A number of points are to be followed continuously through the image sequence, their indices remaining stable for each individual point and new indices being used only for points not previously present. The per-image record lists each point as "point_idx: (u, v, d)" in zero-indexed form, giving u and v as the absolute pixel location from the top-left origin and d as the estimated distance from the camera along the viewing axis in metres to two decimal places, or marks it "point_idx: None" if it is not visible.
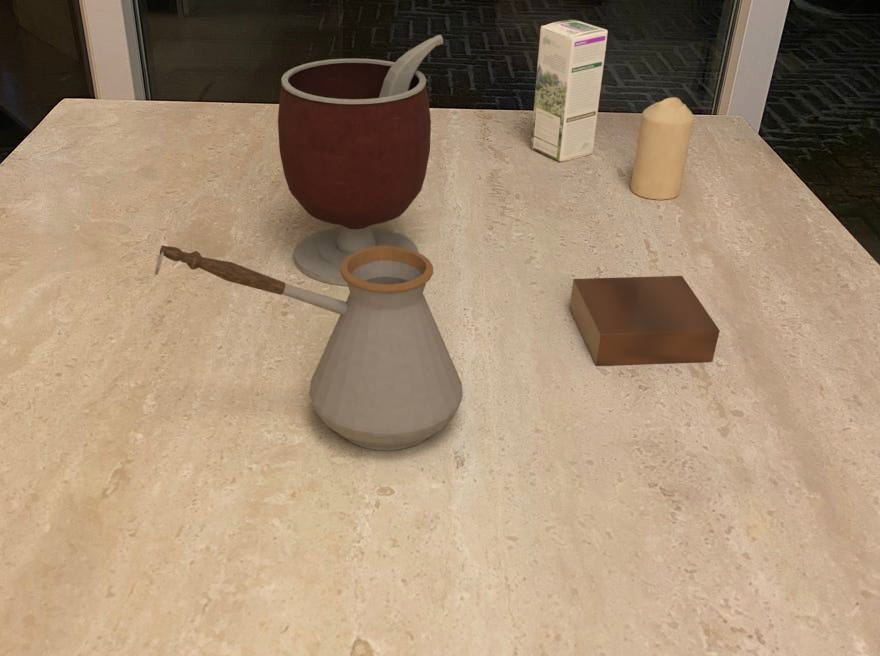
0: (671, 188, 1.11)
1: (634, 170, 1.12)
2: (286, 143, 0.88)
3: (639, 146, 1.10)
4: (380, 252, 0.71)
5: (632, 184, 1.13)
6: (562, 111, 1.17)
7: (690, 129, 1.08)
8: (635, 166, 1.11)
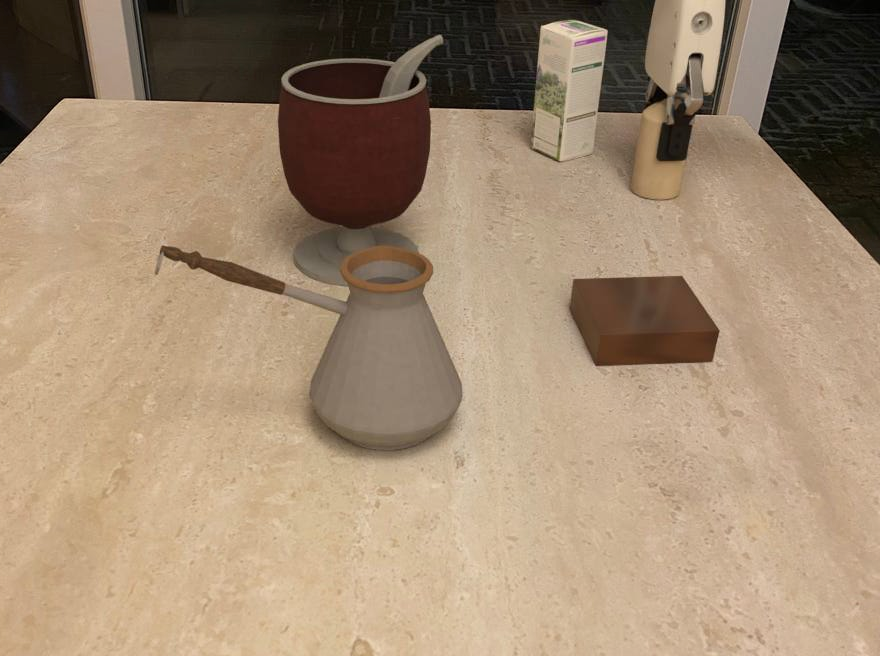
0: (671, 188, 1.11)
1: (634, 170, 1.12)
2: (286, 143, 0.88)
3: (639, 146, 1.10)
4: (380, 252, 0.71)
5: (632, 184, 1.13)
6: (562, 111, 1.17)
7: None
8: (635, 166, 1.11)
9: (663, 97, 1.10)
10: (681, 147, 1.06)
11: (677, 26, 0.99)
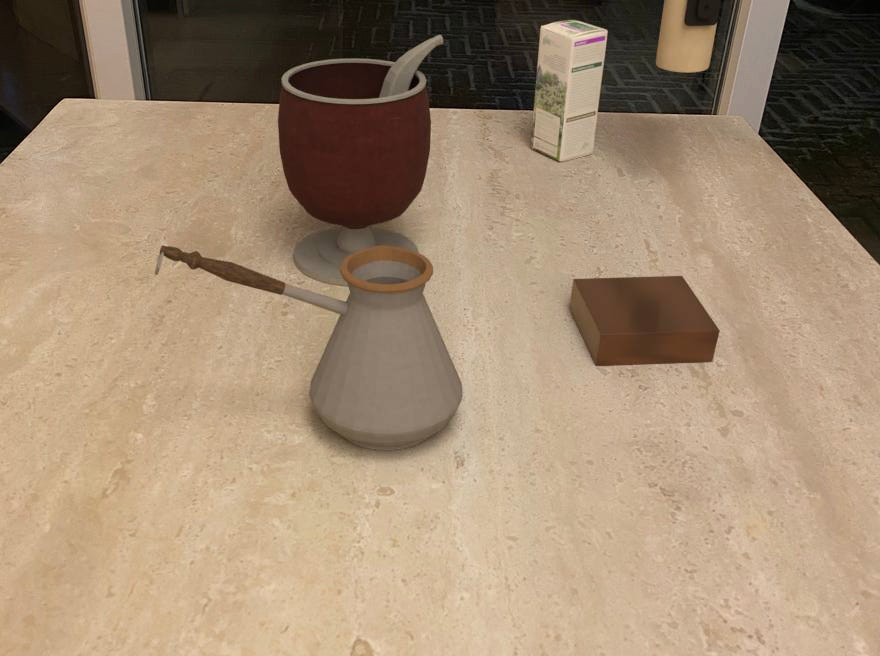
0: (700, 58, 1.02)
1: (659, 41, 1.03)
2: (286, 143, 0.88)
3: (665, 13, 1.01)
4: (380, 252, 0.71)
5: (657, 58, 1.04)
6: (562, 111, 1.17)
7: None
8: (660, 37, 1.03)
9: None
10: (711, 8, 0.98)
11: None
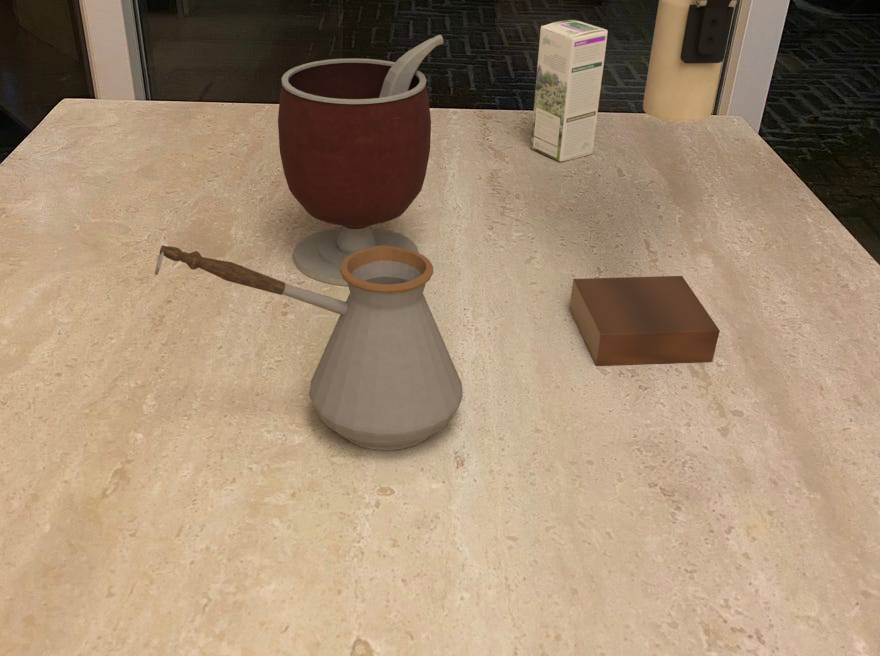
0: (700, 104, 0.78)
1: (647, 80, 0.79)
2: (286, 143, 0.88)
3: (655, 44, 0.77)
4: (380, 252, 0.71)
5: (645, 102, 0.80)
6: (562, 112, 1.17)
7: None
8: (649, 75, 0.79)
9: None
10: (717, 41, 0.74)
11: None
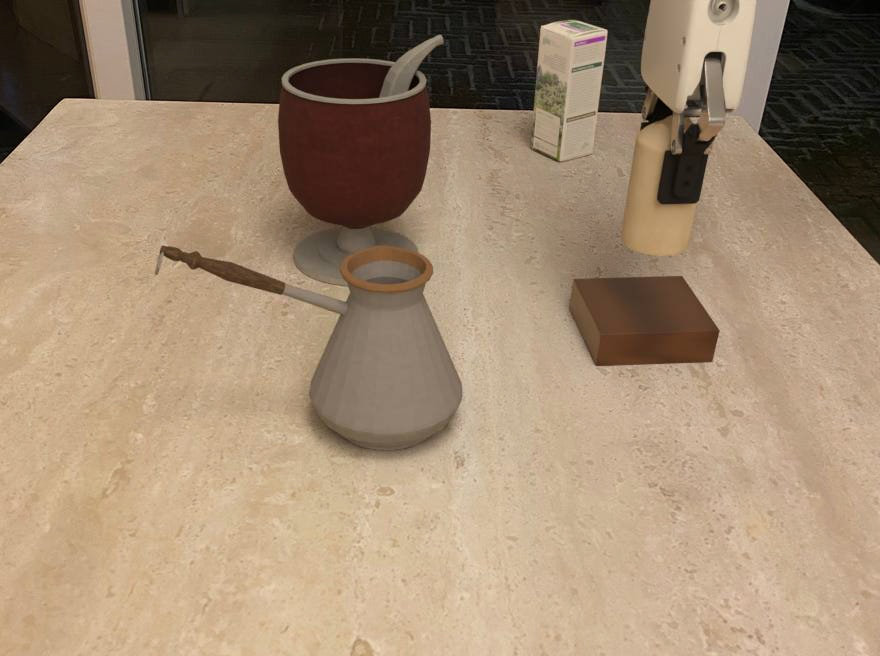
0: (677, 240, 0.79)
1: (625, 214, 0.81)
2: (286, 143, 0.88)
3: (632, 182, 0.79)
4: (380, 252, 0.71)
5: (623, 233, 0.82)
6: (562, 111, 1.17)
7: None
8: (627, 209, 0.80)
9: (666, 114, 0.79)
10: (692, 185, 0.75)
11: (687, 13, 0.68)
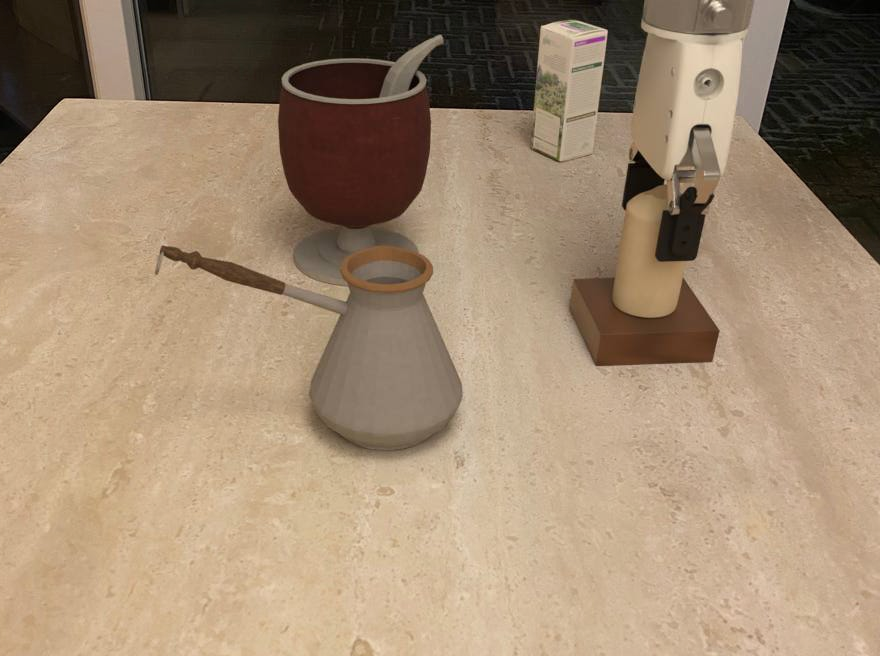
0: (665, 303, 0.83)
1: (616, 277, 0.84)
2: (286, 143, 0.88)
3: (622, 248, 0.82)
4: (380, 252, 0.71)
5: (614, 295, 0.85)
6: (562, 112, 1.17)
7: None
8: (617, 273, 0.84)
9: None
10: (690, 244, 0.76)
11: (674, 88, 0.71)
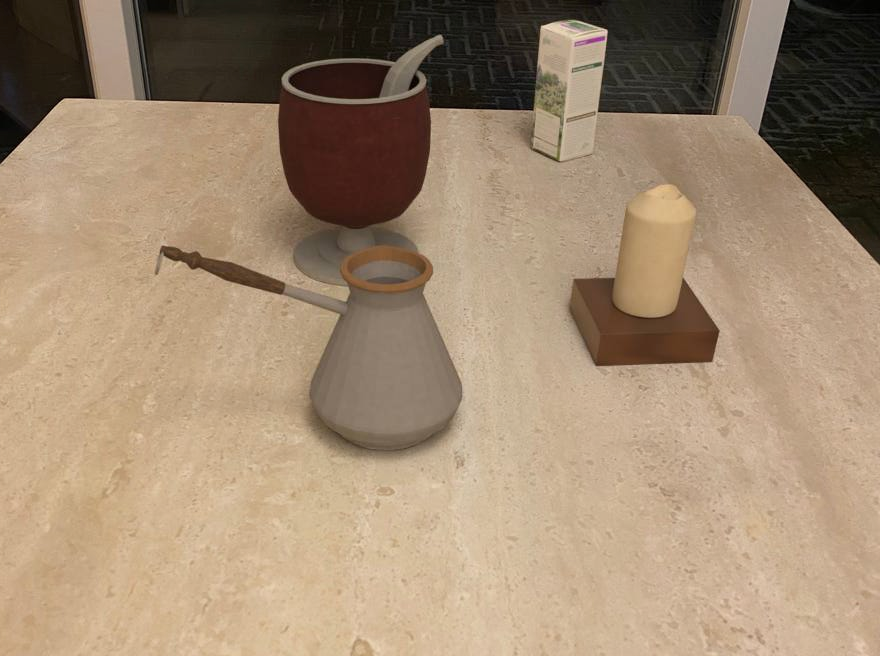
0: (665, 303, 0.83)
1: (616, 277, 0.84)
2: (286, 143, 0.88)
3: (622, 248, 0.82)
4: (380, 252, 0.71)
5: (614, 295, 0.85)
6: (562, 111, 1.17)
7: (691, 228, 0.80)
8: (617, 273, 0.84)
9: None
10: None
11: None
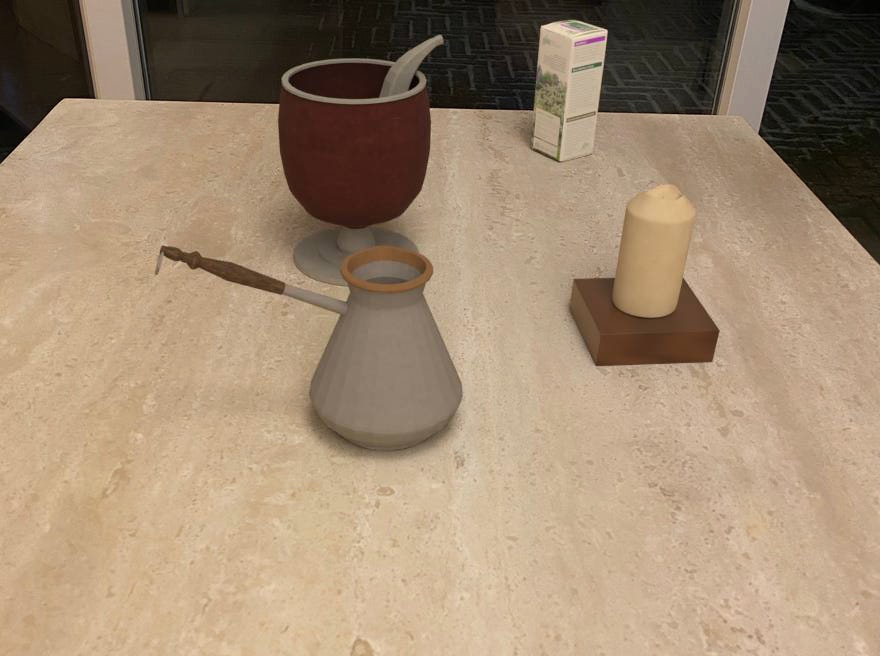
0: (665, 303, 0.83)
1: (616, 277, 0.84)
2: (286, 143, 0.88)
3: (622, 248, 0.82)
4: (380, 252, 0.71)
5: (614, 295, 0.85)
6: (562, 111, 1.17)
7: (691, 228, 0.80)
8: (617, 273, 0.84)
9: None
10: None
11: None
